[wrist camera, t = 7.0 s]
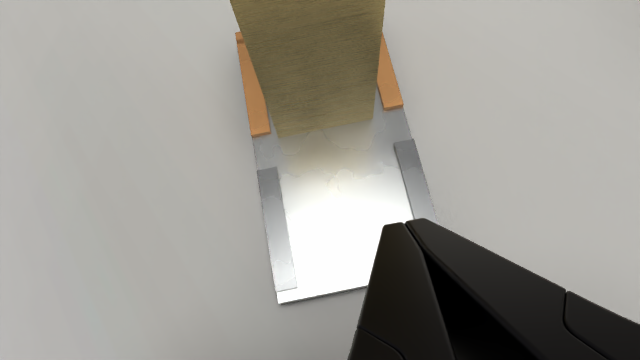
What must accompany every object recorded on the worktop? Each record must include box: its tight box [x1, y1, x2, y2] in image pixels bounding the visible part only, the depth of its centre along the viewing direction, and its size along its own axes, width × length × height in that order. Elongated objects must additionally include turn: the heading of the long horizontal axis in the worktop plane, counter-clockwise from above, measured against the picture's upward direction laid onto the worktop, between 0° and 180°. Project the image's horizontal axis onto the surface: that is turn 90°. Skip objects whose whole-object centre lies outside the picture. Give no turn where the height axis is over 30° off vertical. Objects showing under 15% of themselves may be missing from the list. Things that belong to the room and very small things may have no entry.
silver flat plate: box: [235, 32, 439, 305], centre depth 23 cm, size 15×8×1 cm, turn 11°
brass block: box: [230, 0, 385, 138], centre depth 19 cm, size 6×5×12 cm
